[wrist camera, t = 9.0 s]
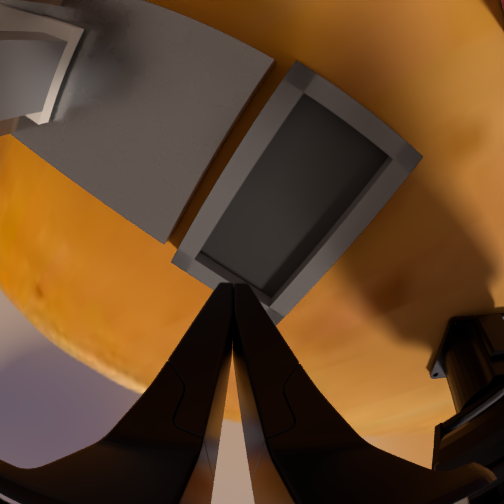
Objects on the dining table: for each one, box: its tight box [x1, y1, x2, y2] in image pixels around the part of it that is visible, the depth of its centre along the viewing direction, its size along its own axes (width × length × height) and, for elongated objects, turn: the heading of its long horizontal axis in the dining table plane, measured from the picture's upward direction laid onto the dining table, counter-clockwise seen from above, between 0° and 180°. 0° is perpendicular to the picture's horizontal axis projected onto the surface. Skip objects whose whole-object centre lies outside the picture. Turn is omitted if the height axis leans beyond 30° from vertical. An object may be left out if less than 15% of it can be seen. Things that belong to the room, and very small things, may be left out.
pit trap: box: [171, 61, 423, 326], centre depth 17 cm, size 8×14×2 cm, turn 148°
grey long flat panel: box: [0, 0, 276, 244], centre depth 15 cm, size 33×13×1 cm, turn 58°
